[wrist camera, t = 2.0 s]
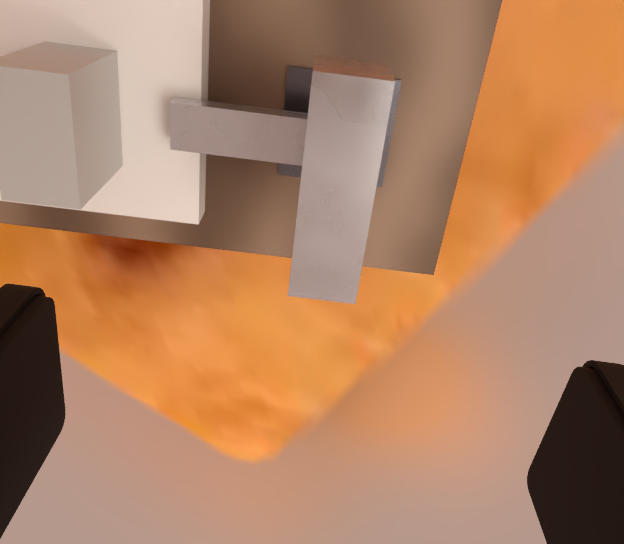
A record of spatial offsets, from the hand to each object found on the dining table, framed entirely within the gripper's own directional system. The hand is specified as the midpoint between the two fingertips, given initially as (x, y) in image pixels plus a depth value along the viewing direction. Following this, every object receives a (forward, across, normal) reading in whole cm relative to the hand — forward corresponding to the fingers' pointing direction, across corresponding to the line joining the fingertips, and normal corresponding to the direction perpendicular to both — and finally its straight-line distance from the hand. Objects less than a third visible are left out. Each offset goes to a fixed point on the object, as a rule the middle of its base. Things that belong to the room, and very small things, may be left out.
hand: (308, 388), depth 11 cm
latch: (+18, +2, 0) cm, 18 cm away
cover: (+18, +10, 0) cm, 21 cm away
